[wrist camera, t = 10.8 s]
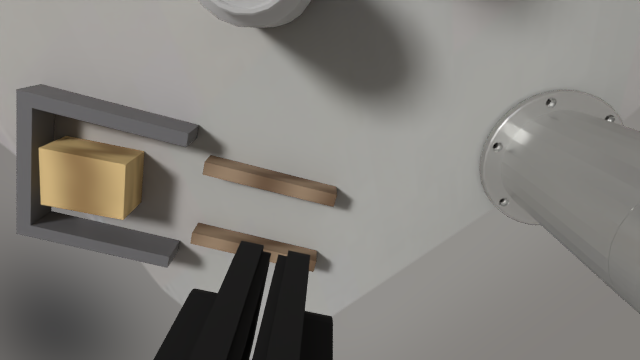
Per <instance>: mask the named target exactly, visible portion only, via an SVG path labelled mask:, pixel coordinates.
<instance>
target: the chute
mask: <svg viewBox="0 0 640 360" xmlns="http://www.w3.org/2000/svg"><path fill="white" fill-rule="evenodd" d="M203 175H207V176H211V177H215V178H219V179H223V180H227V181H231V182H235V183H239V184H243V185H247V186H251V187H255V188H259V189H263V190H267V191H271V192H275V193H279V194H284V195H288V196H292V197H296V198H300V199H304V200H308V201H312V202H316V203H320V204H324V205H328V206H332V207H333V206H334V203H335V200H336V197H337V190H336V187H335V186H331V185H327V184H323V183H319V182H315V181H311V180H307V179H303V178H299V177H295V176H291V175H287V174H283V173H280V172H276V171H272V170H268V169H264V168H260V167H256V166H252V165H248V164H244V163H240V162H236V161H232V160H228V159H224V158H220V157H216V156H212V155H210V156H209V158H208V159H207V160H206V161H205V164H204V170H203ZM241 241H246V242H251V243H256V244H261V245H264V249H263V251H264V252H269V253H271V257H270V262H273V263H276V262H277V258H278V254H279V255H284V256H287V254H288V250H289V251H294V252H299V253H304V254H308V255H310V264H309V271H312V272H313V271H314V268H315V264H316V255H317V251H316V250H311V249H307V248H303V247H299V246H294V245H290V244H286V243H282V242H278V241H273V240H269V239H265V238H261V237H256V236H252V235H248V234H244V233H240V232H235V231H231V230H227V229H223V228H218V227H214V226H210V225H206V224H202V223H198V224H197V226H196V227H195V229H194V231H193V232H192V237H191V244H195V245H199V246H204V247H208V248H212V249H217V250H221V251H225V252H230V253H234V254H235V253H236V251H237V249H238V247H239V244H240V242H241Z"/></svg>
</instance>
